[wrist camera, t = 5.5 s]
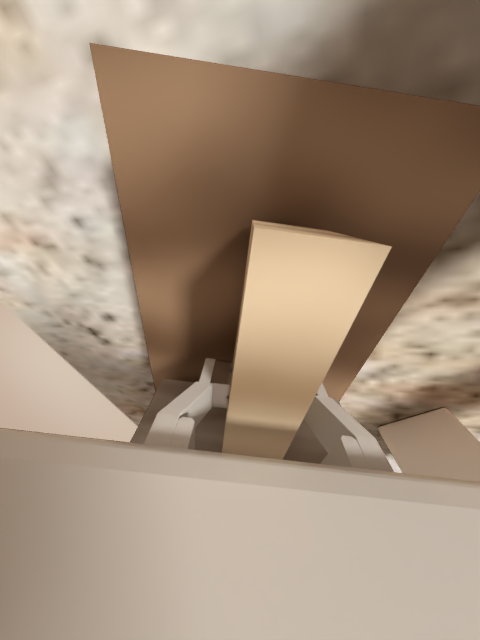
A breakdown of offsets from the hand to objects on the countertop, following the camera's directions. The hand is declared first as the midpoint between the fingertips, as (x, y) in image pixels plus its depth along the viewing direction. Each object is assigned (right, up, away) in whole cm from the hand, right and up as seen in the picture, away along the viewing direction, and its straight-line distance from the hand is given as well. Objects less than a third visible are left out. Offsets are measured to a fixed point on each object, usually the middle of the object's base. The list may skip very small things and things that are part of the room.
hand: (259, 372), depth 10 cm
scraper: (0, +2, 0) cm, 2 cm away
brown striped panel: (0, +3, +5) cm, 6 cm away
